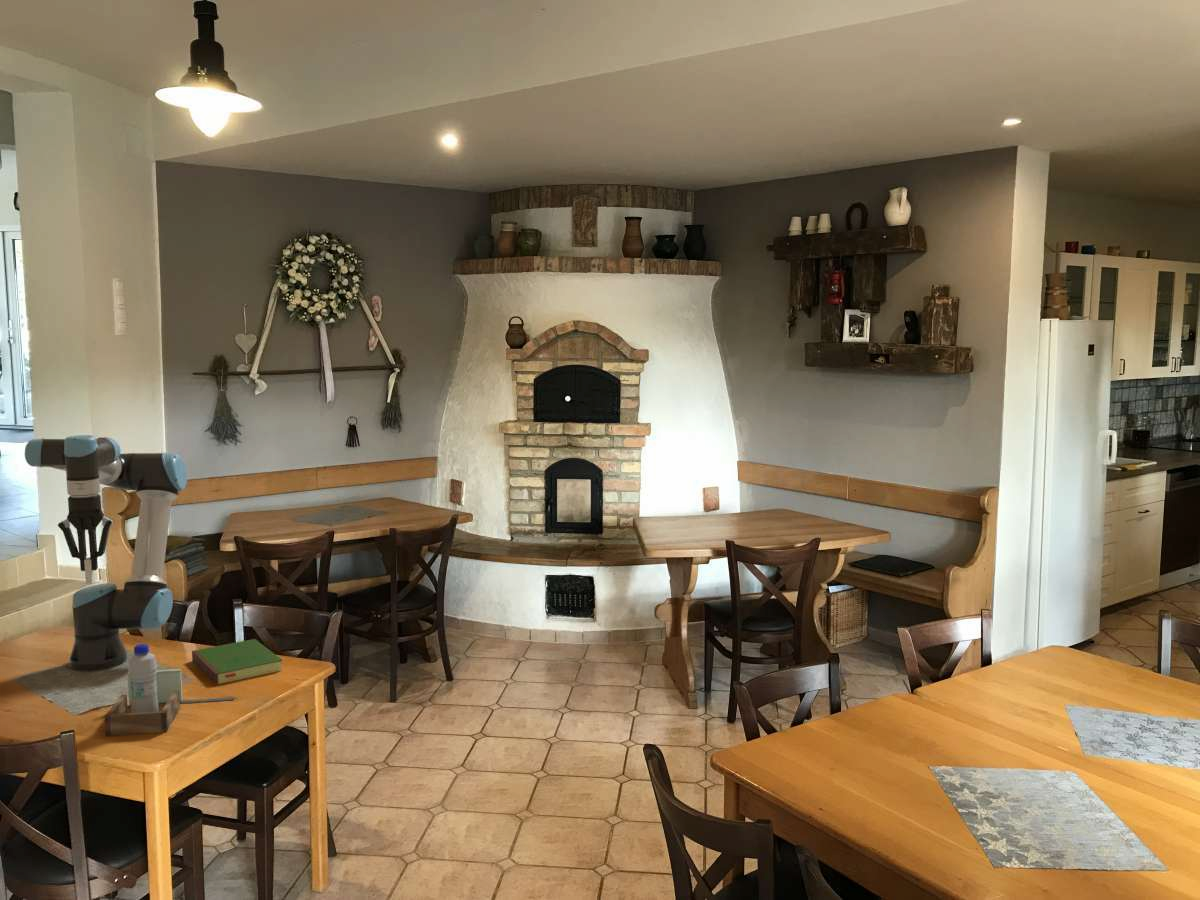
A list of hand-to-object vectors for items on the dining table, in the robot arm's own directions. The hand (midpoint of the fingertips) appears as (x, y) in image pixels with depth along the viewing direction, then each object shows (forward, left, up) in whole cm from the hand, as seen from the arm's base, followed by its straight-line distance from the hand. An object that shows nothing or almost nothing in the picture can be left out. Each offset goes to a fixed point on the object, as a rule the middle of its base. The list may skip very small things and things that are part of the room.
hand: (90, 582), depth 249 cm
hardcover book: (-20, +32, -33) cm, 51 cm away
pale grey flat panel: (+6, +16, -33) cm, 37 cm away
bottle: (+16, +16, -33) cm, 40 cm away
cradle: (+15, +23, -33) cm, 42 cm away
